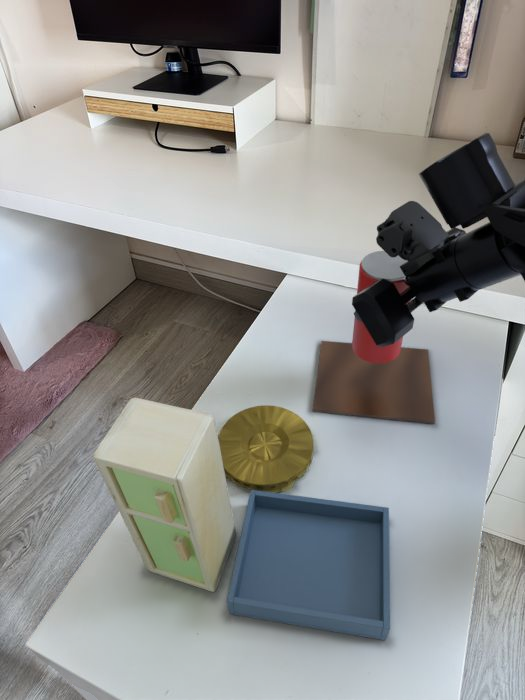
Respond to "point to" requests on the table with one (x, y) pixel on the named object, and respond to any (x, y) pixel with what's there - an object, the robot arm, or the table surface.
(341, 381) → the walnut board
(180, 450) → the toy refrigerator
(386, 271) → the can
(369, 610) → the tray
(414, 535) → the table surface
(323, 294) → the table surface
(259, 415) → the gold round disc
